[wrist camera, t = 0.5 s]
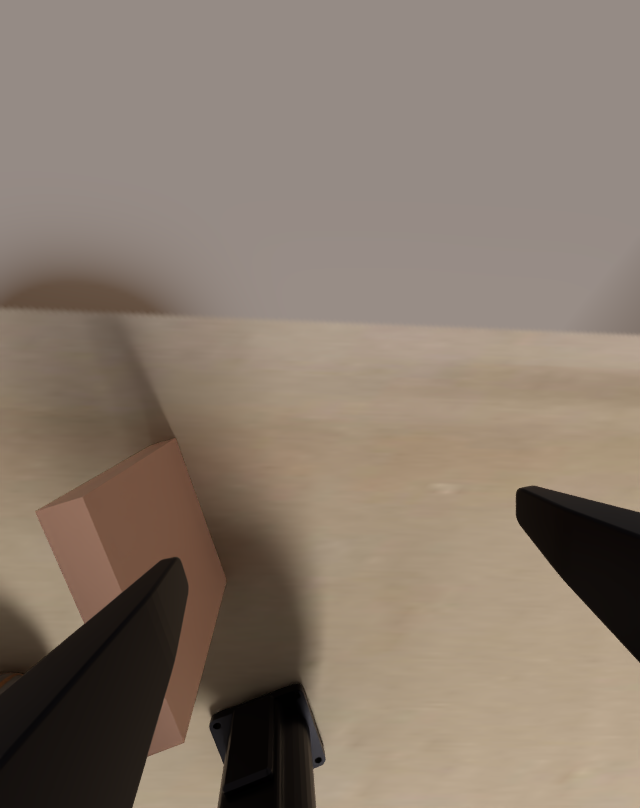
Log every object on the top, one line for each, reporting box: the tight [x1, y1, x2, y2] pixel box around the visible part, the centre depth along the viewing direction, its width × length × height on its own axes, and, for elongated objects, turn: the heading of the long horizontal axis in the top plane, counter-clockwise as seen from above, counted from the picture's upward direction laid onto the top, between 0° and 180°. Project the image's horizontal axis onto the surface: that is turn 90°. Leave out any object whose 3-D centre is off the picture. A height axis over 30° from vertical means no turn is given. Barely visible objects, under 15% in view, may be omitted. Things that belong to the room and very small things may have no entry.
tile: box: [35, 438, 227, 757], centre depth 15 cm, size 10×2×9 cm, turn 16°
